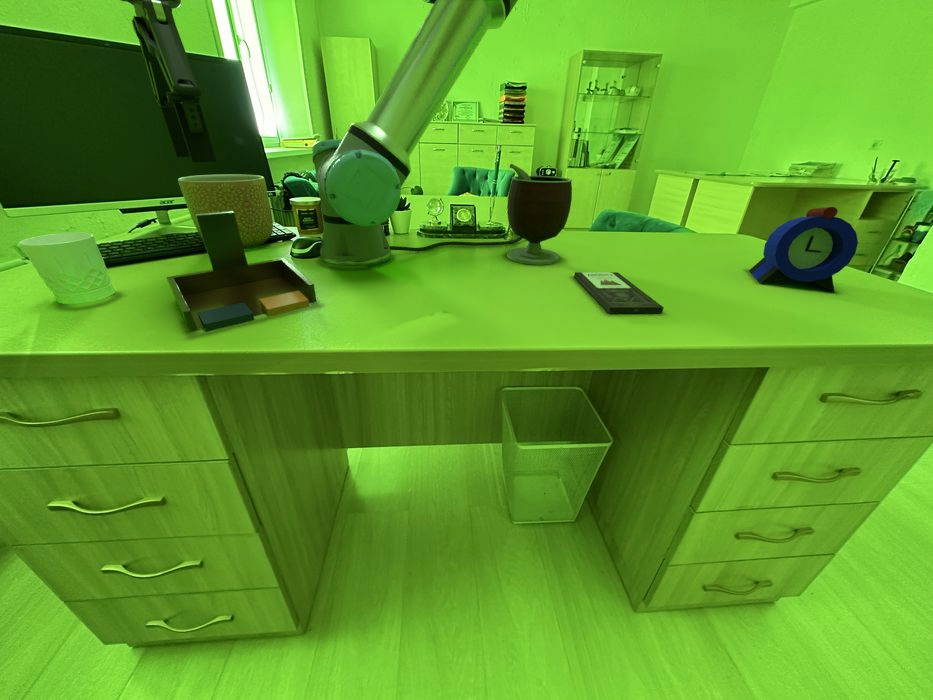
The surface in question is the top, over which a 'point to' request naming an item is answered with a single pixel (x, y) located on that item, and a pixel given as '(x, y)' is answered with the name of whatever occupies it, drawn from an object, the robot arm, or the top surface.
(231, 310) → the block
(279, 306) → the block
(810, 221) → the alarm clock
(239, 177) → the planter
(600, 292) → the chocolate bar
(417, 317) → the top surface
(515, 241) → the robot arm
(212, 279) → the dustpan
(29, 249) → the white cup
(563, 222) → the mate gourd
